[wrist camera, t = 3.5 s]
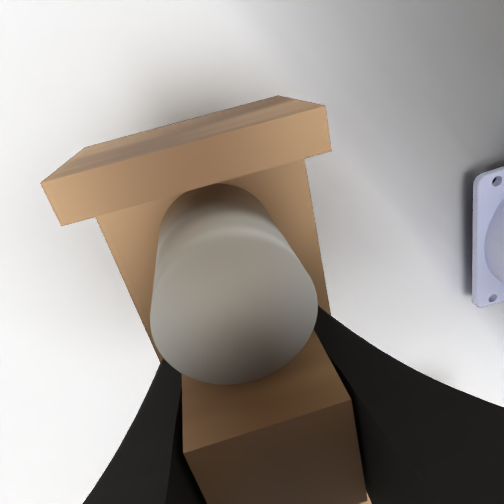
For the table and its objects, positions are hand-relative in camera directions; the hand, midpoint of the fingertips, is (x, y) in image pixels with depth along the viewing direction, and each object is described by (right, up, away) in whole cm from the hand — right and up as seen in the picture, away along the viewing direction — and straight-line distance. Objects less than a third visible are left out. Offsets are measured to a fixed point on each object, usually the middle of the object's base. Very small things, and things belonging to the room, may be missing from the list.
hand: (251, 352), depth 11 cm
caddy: (0, +1, +2) cm, 2 cm away
